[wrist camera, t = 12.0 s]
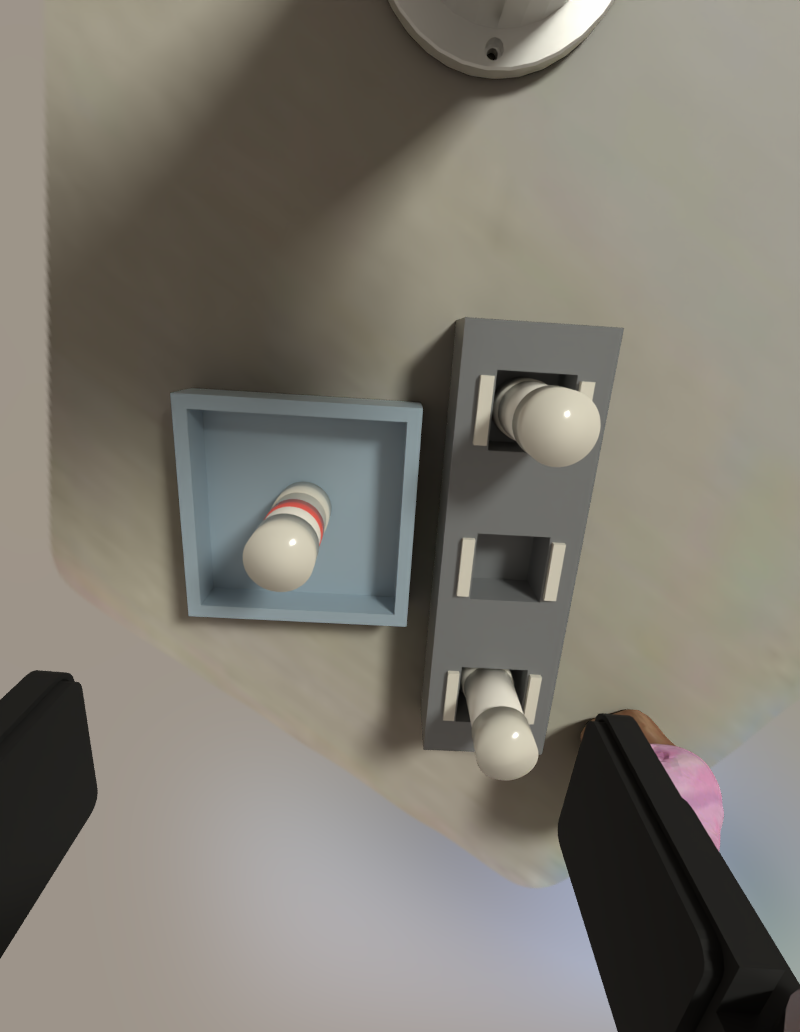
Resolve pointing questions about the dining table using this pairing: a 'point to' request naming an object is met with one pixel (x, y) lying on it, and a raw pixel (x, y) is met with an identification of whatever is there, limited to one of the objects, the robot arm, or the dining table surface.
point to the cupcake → (685, 775)
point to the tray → (275, 465)
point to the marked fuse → (288, 538)
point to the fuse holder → (507, 523)
